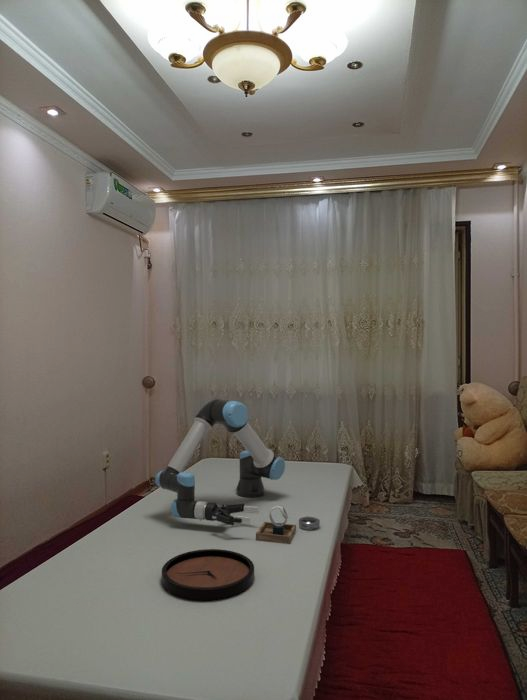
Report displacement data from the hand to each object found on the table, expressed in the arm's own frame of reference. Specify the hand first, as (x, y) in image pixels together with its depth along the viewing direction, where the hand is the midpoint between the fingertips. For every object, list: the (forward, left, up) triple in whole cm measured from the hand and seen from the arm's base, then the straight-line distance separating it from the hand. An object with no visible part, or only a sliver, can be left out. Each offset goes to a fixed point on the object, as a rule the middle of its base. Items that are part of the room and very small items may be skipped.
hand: (254, 515), depth 217 cm
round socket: (-17, +18, -8) cm, 26 cm away
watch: (-4, +10, -7) cm, 13 cm away
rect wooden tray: (-2, +9, -8) cm, 12 cm away
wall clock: (+44, +3, -8) cm, 45 cm away
